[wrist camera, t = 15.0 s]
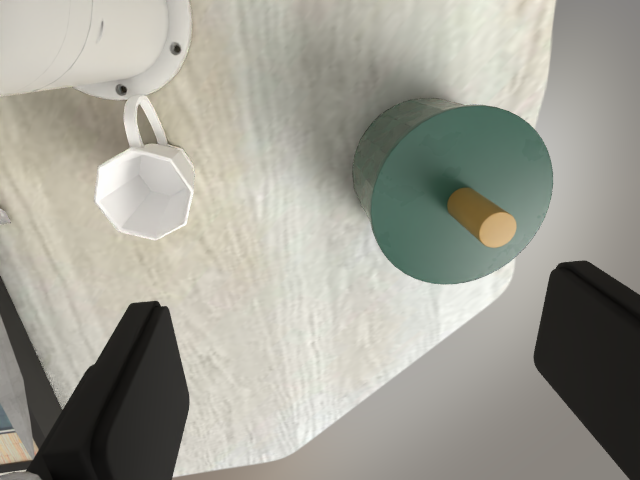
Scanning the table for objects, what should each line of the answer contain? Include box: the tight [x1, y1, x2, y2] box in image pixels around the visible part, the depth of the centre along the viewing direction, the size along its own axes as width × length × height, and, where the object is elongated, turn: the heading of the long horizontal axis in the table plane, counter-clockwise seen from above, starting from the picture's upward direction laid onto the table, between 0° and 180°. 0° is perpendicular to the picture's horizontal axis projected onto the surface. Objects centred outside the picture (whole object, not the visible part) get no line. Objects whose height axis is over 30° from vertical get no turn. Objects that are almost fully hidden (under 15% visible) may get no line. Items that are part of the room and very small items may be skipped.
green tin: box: [353, 98, 464, 219], centre depth 35 cm, size 13×13×10 cm
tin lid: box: [369, 105, 553, 284], centre depth 28 cm, size 14×14×6 cm
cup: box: [94, 95, 195, 240], centre depth 33 cm, size 7×10×8 cm
